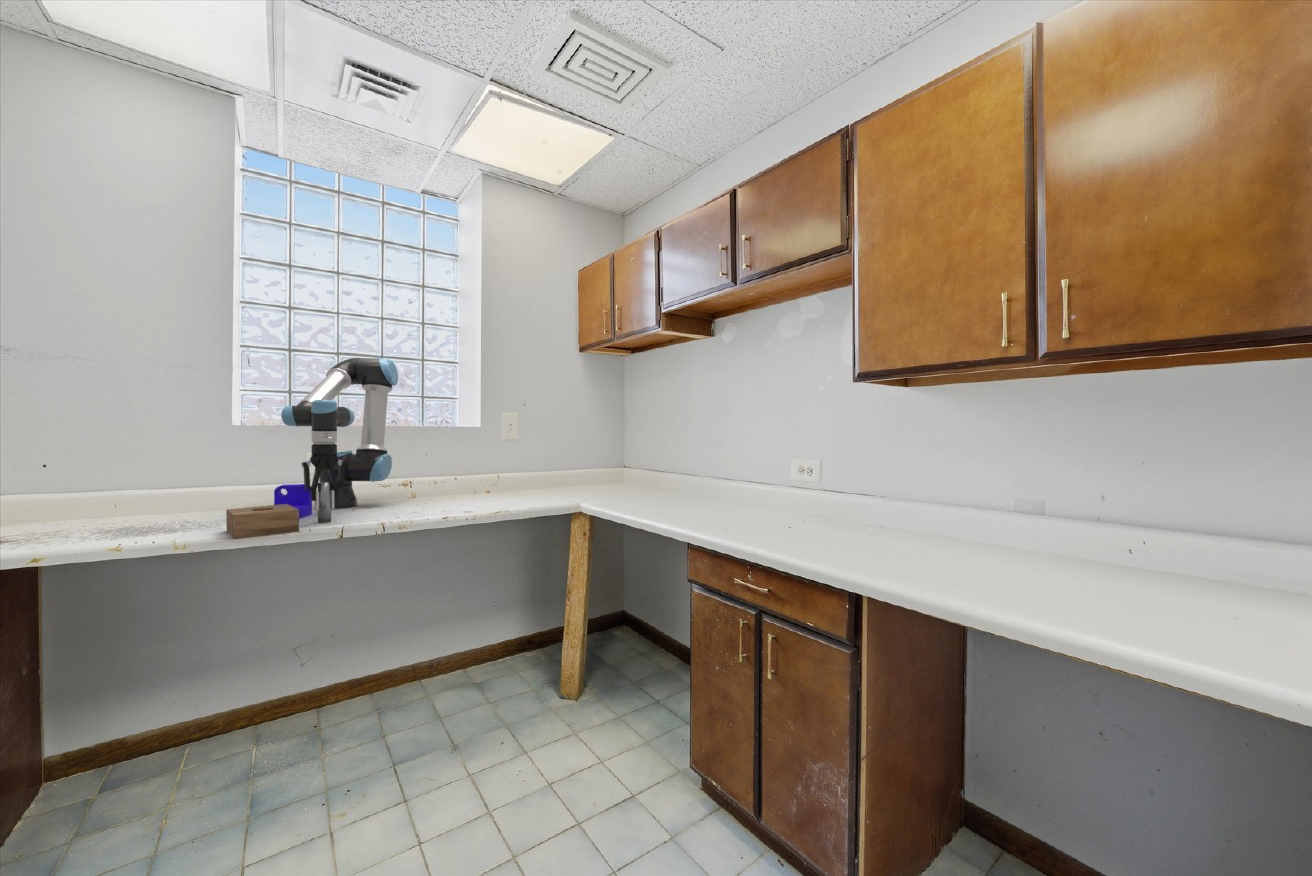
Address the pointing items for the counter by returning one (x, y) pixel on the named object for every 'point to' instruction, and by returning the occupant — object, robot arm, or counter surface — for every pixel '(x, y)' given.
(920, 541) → the counter surface
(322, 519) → the pin
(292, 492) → the bracket
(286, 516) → the bore block
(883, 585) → the counter surface
